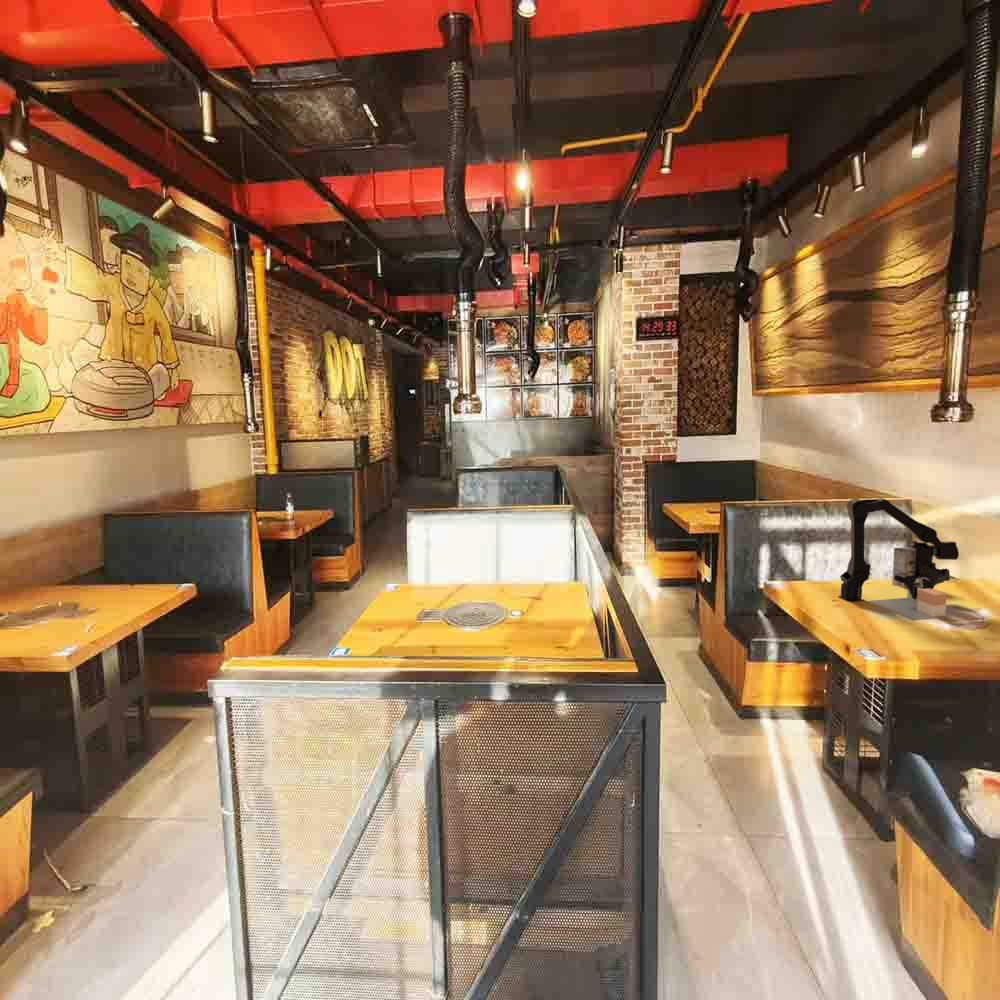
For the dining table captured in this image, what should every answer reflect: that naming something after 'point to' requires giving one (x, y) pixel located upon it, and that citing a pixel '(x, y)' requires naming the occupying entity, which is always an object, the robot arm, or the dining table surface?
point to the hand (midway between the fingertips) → (920, 598)
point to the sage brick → (911, 596)
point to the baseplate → (912, 609)
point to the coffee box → (903, 564)
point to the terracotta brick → (932, 597)
